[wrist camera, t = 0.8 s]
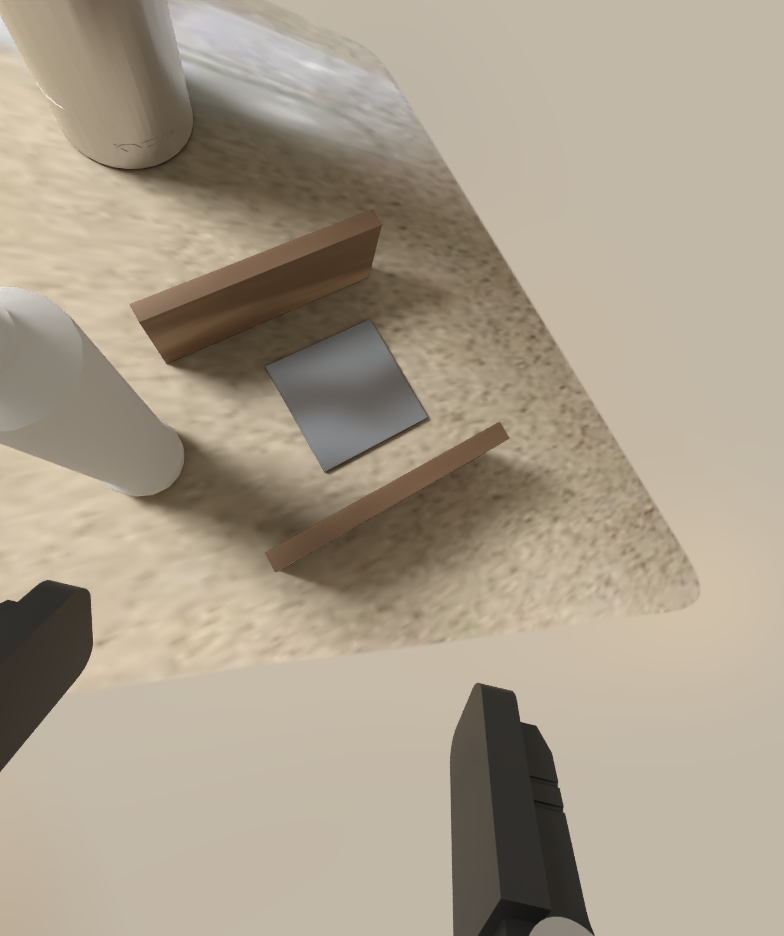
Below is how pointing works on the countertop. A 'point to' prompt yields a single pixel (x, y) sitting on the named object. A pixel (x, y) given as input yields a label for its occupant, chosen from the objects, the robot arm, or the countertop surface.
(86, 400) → the bottle
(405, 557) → the countertop surface
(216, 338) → the arena
